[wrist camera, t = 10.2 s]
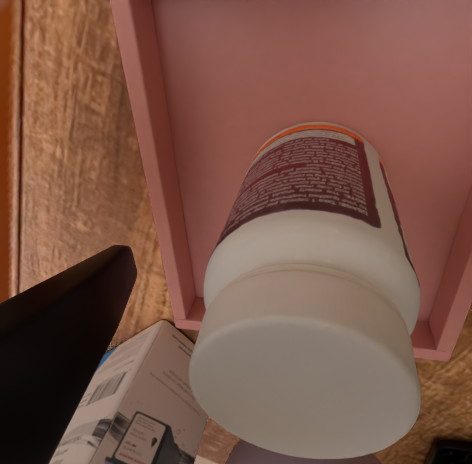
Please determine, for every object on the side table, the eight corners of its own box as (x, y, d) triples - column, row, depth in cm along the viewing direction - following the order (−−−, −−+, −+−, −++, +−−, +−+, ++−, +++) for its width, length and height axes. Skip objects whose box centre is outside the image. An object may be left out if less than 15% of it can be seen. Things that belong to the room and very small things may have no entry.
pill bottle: (222, 187, 14) (121, 381, 7) (313, 86, 12) (286, 242, 5) (315, 261, 15) (301, 493, 8) (418, 184, 13) (519, 428, 6)
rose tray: (437, 324, 16) (449, 363, 15) (188, 297, 19) (175, 328, 17) (568, -63, 9) (619, -72, 7) (135, -30, 11) (102, -32, 10)
